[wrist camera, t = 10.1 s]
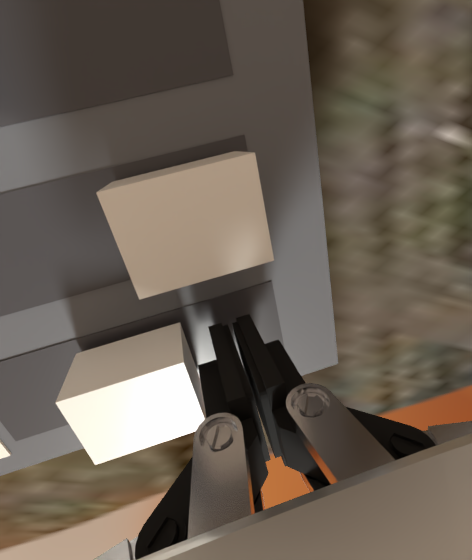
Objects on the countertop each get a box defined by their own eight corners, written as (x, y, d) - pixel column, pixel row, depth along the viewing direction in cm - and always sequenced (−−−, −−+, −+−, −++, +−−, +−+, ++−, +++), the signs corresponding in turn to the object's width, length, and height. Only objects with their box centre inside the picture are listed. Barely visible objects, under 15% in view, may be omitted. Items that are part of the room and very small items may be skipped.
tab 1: (234, 151, 10) (255, 152, 8) (252, 237, 11) (273, 260, 9) (112, 181, 10) (95, 192, 7) (144, 268, 11) (139, 299, 9)
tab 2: (180, 322, 12) (183, 362, 10) (200, 379, 13) (207, 427, 11) (76, 353, 12) (55, 402, 9) (107, 409, 13) (95, 464, 11)
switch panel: (265, -153, 9) (286, -214, 7) (324, 345, 17) (340, 366, 15) (-588, -24, 7) (-799, -72, 5) (-74, 474, 15) (-101, 513, 13)
